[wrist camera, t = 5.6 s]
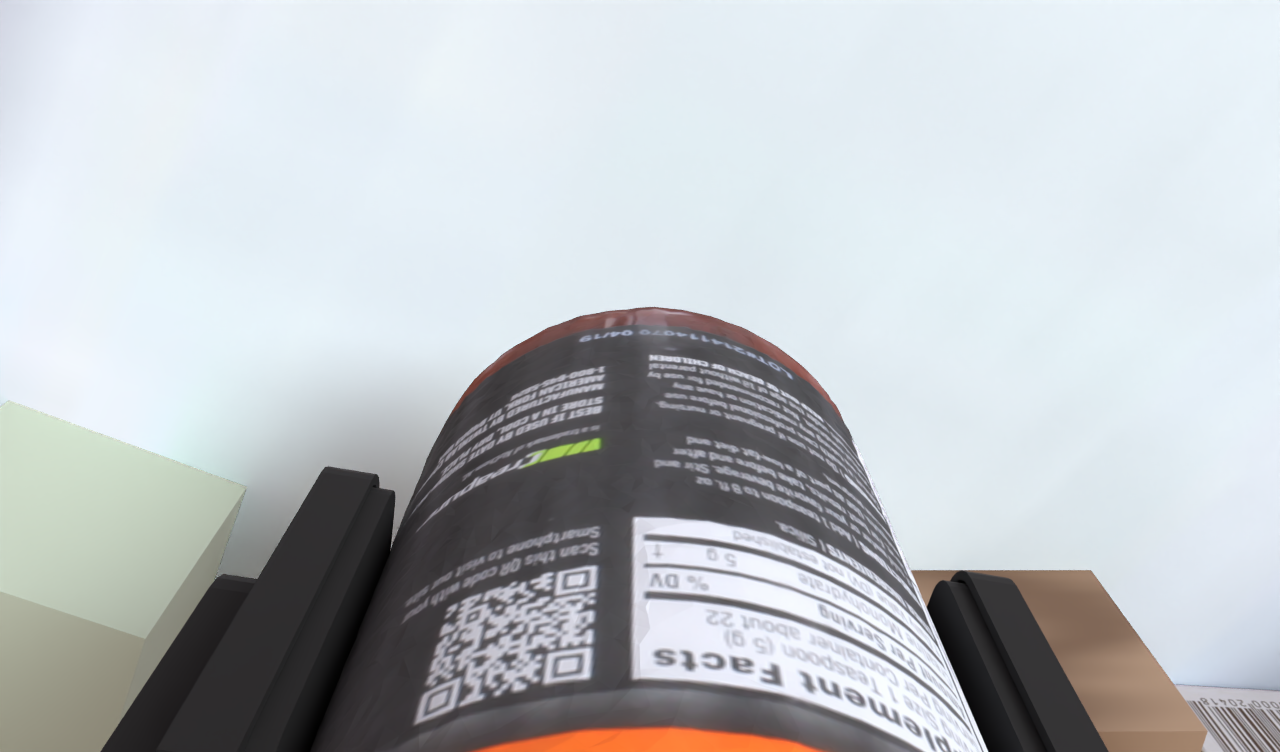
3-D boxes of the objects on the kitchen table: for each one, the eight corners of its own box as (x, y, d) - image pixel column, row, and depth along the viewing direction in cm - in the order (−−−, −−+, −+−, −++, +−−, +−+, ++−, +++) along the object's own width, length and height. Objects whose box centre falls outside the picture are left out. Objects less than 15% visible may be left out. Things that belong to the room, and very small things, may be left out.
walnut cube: (1089, 568, 22) (1207, 731, 18) (1048, 731, 25) (1145, 914, 20) (873, 568, 22) (937, 732, 18) (851, 733, 24) (903, 916, 20)
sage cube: (247, 485, 21) (145, 638, 17) (189, 650, 23) (83, 829, 18) (11, 398, 20) (-167, 536, 16) (-29, 578, 22) (-199, 748, 18)
